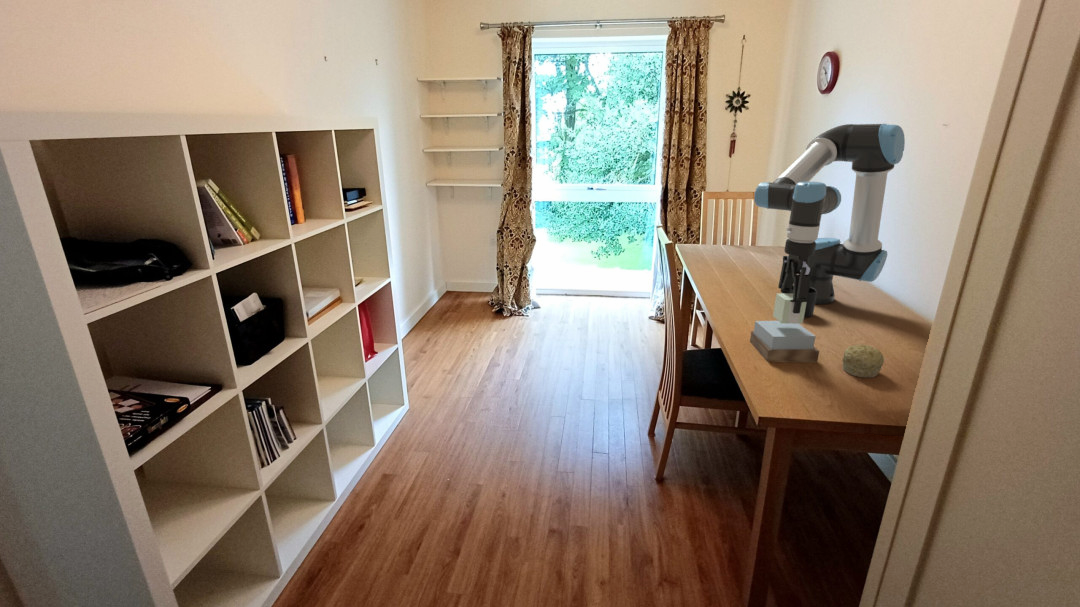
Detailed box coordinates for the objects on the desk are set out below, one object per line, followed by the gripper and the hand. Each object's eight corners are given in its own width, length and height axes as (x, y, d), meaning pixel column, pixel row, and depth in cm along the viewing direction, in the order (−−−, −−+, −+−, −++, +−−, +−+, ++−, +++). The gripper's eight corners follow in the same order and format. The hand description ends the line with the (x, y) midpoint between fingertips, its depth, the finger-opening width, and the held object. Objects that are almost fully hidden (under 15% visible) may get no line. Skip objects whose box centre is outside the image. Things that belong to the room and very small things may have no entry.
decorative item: (841, 375, 145) (827, 351, 141) (872, 355, 143) (858, 330, 140) (864, 392, 136) (850, 366, 132) (897, 371, 134) (883, 344, 131)
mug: (810, 308, 186) (815, 284, 183) (814, 319, 175) (818, 294, 172) (782, 305, 189) (786, 281, 186) (783, 316, 178) (788, 291, 175)
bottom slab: (795, 343, 157) (797, 331, 156) (816, 364, 144) (819, 351, 143) (749, 343, 158) (751, 331, 157) (766, 363, 145) (768, 350, 143)
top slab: (792, 332, 155) (794, 320, 154) (813, 349, 144) (815, 336, 143) (753, 333, 155) (755, 320, 154) (771, 349, 144) (773, 336, 143)
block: (793, 316, 150) (797, 293, 148) (802, 323, 144) (806, 300, 142) (772, 315, 150) (776, 293, 148) (781, 323, 145) (785, 300, 142)
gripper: (773, 232, 149) (762, 307, 156) (802, 247, 131) (788, 331, 138) (800, 233, 148) (787, 307, 156) (832, 248, 130) (816, 331, 138)
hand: (787, 318), depth 147 cm, fingers closed on block, 6 cm apart
